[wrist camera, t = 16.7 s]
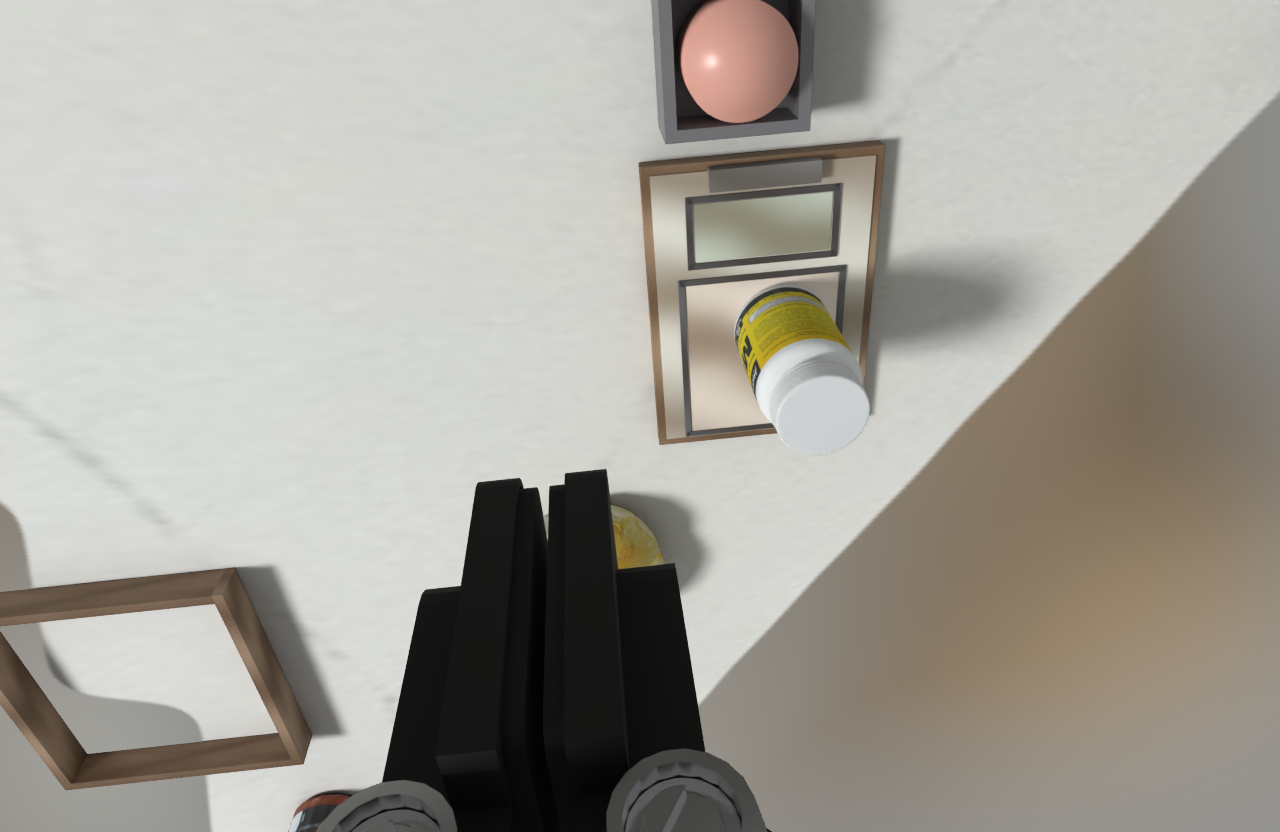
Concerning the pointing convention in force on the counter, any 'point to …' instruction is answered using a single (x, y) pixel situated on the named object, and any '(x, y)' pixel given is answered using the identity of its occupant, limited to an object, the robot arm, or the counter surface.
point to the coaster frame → (43, 727)
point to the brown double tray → (750, 267)
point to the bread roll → (631, 540)
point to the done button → (737, 58)
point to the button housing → (688, 119)
